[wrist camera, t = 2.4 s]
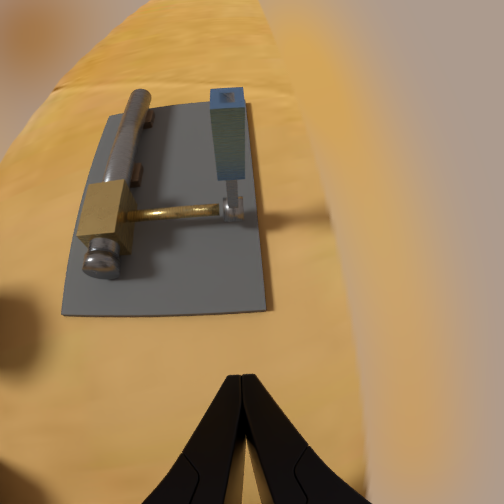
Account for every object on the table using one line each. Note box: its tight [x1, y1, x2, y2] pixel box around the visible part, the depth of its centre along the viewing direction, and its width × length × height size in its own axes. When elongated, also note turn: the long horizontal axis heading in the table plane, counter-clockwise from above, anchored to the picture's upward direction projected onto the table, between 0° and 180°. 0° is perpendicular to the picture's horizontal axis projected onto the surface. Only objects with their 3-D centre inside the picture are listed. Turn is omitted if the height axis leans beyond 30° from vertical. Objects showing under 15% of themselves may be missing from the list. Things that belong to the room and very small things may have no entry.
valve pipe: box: [76, 89, 220, 280], centre depth 27 cm, size 23×12×4 cm, turn 4°
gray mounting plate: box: [61, 100, 266, 317], centre depth 28 cm, size 26×18×1 cm
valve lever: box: [210, 87, 245, 222], centre depth 20 cm, size 2×2×12 cm
